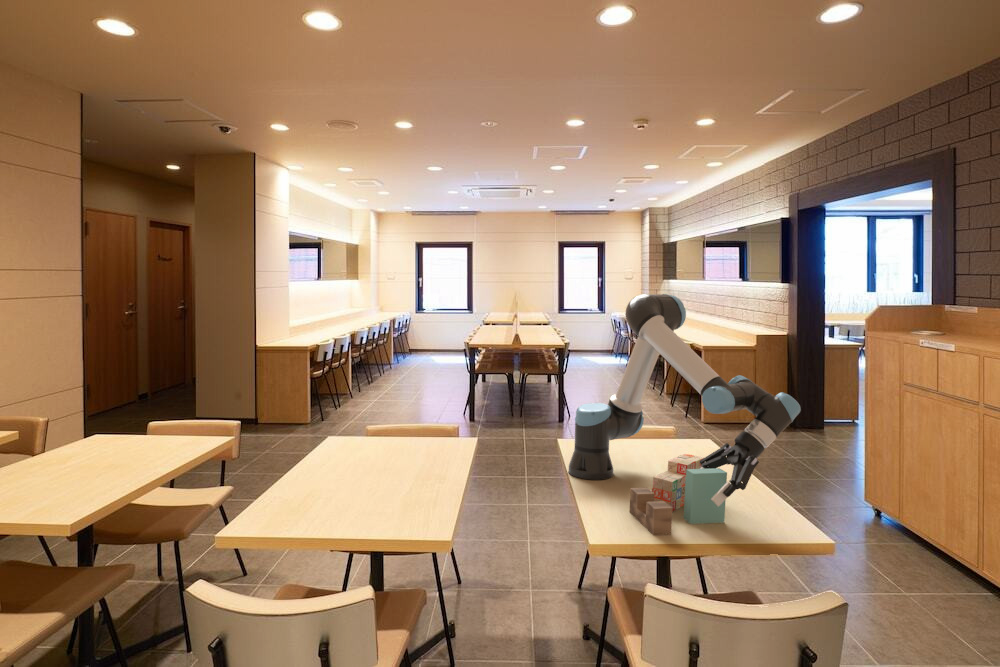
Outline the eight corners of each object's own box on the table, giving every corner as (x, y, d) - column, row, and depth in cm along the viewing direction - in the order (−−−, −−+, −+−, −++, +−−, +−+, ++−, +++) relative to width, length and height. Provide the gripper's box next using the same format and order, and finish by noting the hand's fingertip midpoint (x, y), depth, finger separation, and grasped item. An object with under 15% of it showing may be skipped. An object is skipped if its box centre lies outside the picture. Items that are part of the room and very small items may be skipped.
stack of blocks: (670, 513, 175) (673, 471, 174) (650, 507, 179) (652, 466, 178) (702, 495, 191) (704, 456, 190) (683, 490, 195) (685, 452, 194)
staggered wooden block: (629, 512, 175) (630, 488, 174) (646, 511, 176) (647, 487, 175) (653, 535, 159) (654, 508, 159) (671, 534, 160) (672, 507, 159)
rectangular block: (683, 518, 171) (686, 469, 170) (716, 516, 173) (719, 468, 172) (690, 523, 167) (693, 473, 166) (724, 522, 169) (727, 472, 168)
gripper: (721, 420, 182) (672, 471, 181) (773, 441, 158) (717, 501, 156) (737, 437, 184) (688, 488, 182) (791, 461, 159) (735, 520, 158)
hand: (701, 494), depth 169 cm, fingers open, 13 cm apart
